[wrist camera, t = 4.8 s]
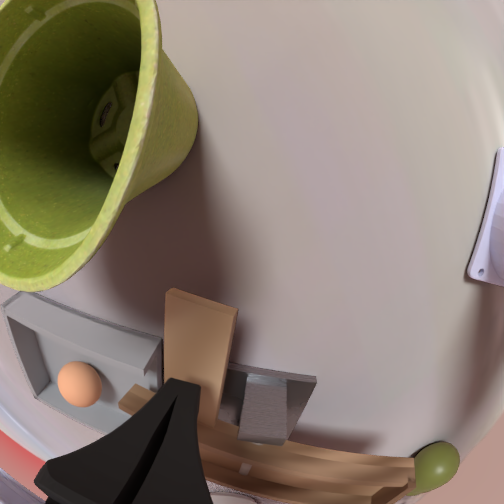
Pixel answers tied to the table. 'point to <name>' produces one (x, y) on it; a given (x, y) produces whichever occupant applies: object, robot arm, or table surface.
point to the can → (230, 498)
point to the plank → (249, 453)
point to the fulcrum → (264, 402)
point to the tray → (80, 356)
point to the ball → (79, 384)
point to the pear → (435, 467)
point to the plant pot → (81, 128)
